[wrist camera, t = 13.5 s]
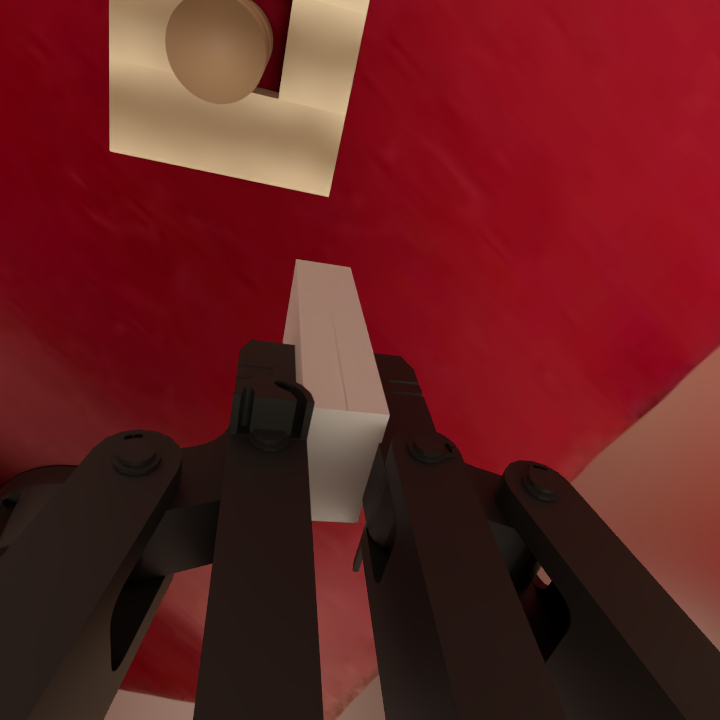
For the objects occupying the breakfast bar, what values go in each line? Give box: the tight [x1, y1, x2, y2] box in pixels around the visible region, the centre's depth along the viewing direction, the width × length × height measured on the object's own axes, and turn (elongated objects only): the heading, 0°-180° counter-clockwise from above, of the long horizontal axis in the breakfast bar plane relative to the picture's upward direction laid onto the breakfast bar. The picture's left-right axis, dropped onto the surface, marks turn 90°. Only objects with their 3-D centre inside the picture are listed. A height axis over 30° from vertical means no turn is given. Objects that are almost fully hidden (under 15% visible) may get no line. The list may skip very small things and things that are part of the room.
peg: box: [165, 0, 273, 104], centre depth 28 cm, size 4×4×14 cm
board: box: [109, 0, 369, 197], centre depth 33 cm, size 16×14×3 cm
